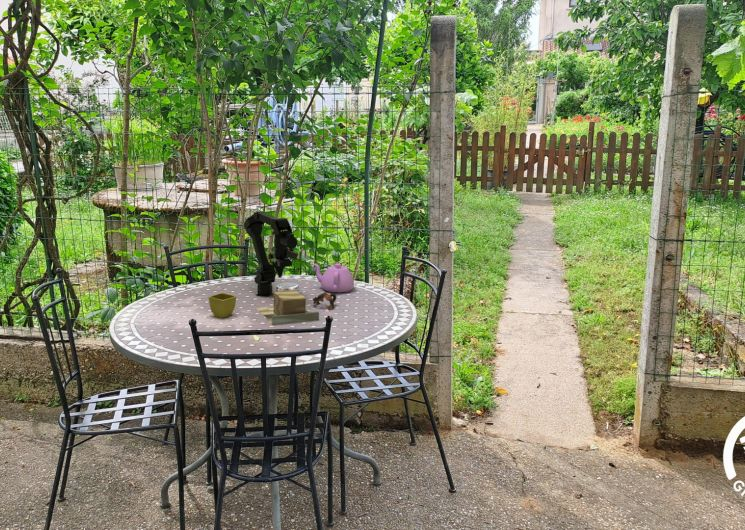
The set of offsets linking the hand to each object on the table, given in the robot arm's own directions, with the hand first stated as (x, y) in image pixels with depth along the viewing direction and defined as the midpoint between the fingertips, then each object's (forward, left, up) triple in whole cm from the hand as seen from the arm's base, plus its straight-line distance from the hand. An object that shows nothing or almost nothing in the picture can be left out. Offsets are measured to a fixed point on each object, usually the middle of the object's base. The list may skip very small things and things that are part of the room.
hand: (280, 277), depth 310 cm
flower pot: (-12, -31, -12) cm, 35 cm away
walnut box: (+15, -20, -12) cm, 28 cm away
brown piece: (+23, +2, -12) cm, 26 cm away
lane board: (+12, -17, -12) cm, 24 cm away
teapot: (+14, +32, -12) cm, 37 cm away
